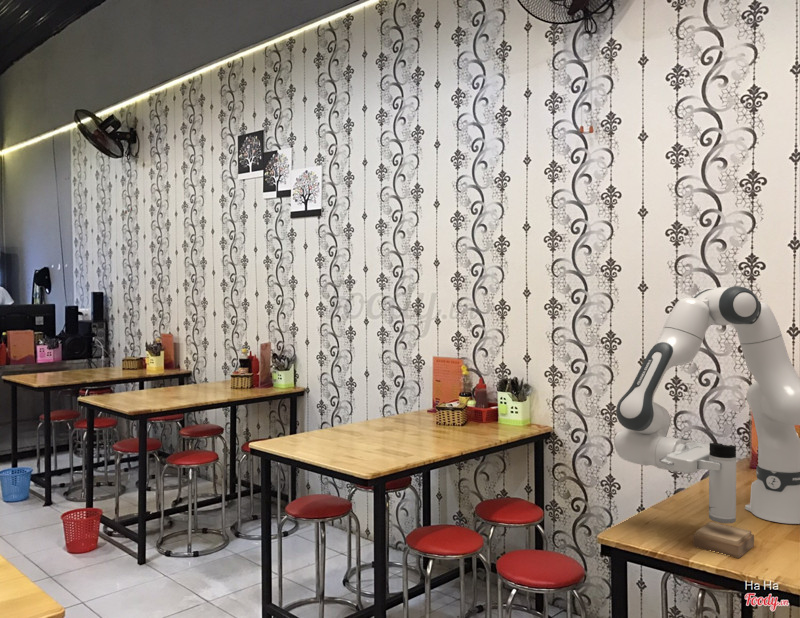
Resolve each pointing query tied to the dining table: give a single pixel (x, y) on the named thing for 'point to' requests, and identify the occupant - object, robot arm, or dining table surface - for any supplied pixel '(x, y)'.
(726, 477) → the travel mug
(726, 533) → the plinth
